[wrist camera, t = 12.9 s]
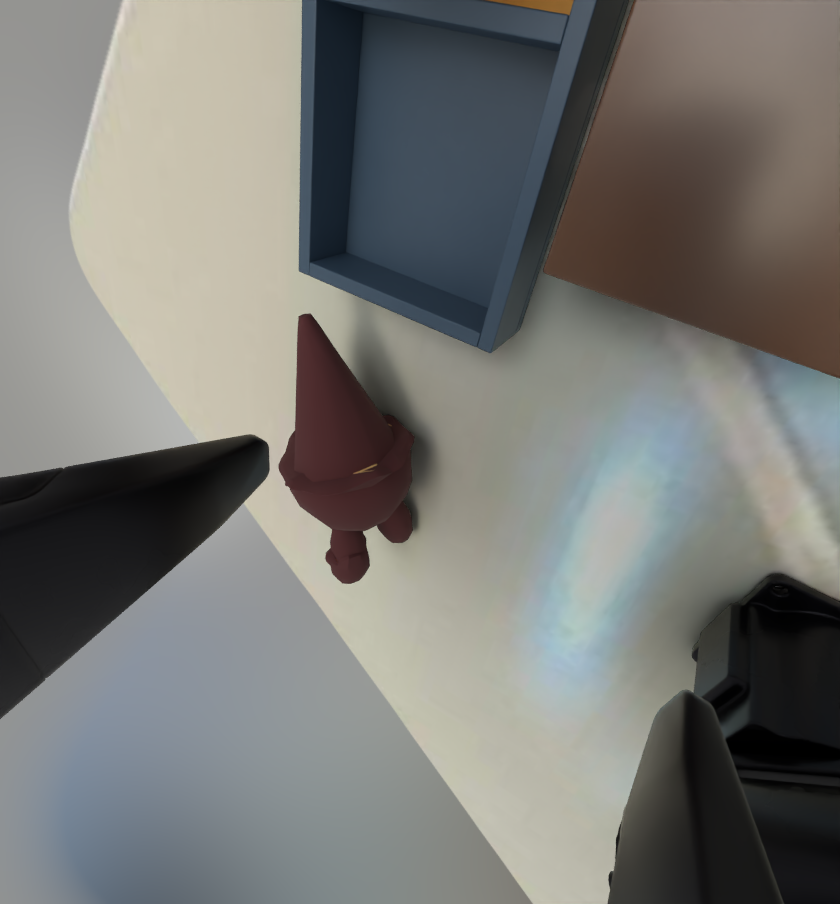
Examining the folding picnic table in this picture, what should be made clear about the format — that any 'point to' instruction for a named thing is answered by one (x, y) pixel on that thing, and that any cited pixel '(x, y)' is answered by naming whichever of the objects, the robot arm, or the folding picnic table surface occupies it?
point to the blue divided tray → (443, 149)
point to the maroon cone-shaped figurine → (345, 456)
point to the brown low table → (717, 175)
